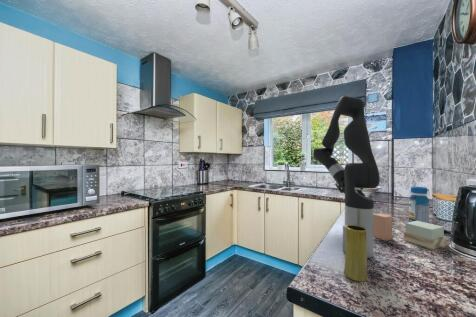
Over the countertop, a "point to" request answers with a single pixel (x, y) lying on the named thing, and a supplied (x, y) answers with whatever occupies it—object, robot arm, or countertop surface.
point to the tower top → (424, 230)
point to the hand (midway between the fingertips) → (358, 198)
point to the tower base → (425, 241)
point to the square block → (383, 226)
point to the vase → (356, 253)
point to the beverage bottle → (419, 205)
